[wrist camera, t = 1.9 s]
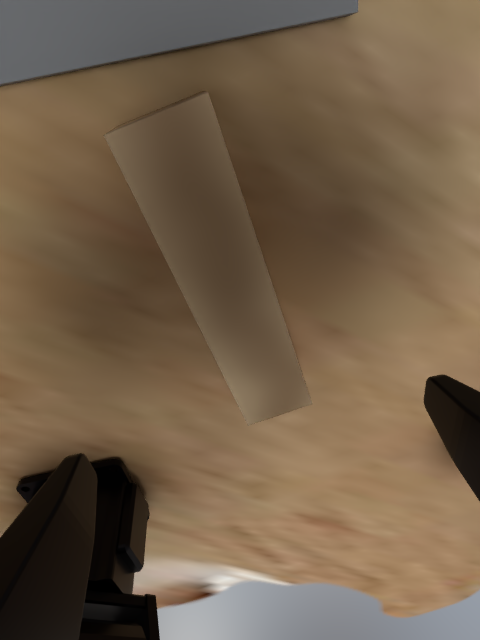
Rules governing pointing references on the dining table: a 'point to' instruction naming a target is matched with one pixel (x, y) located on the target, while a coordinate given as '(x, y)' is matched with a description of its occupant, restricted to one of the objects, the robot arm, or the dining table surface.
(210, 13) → the fulcrum stand
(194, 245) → the oak batten
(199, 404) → the dining table surface
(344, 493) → the dining table surface
